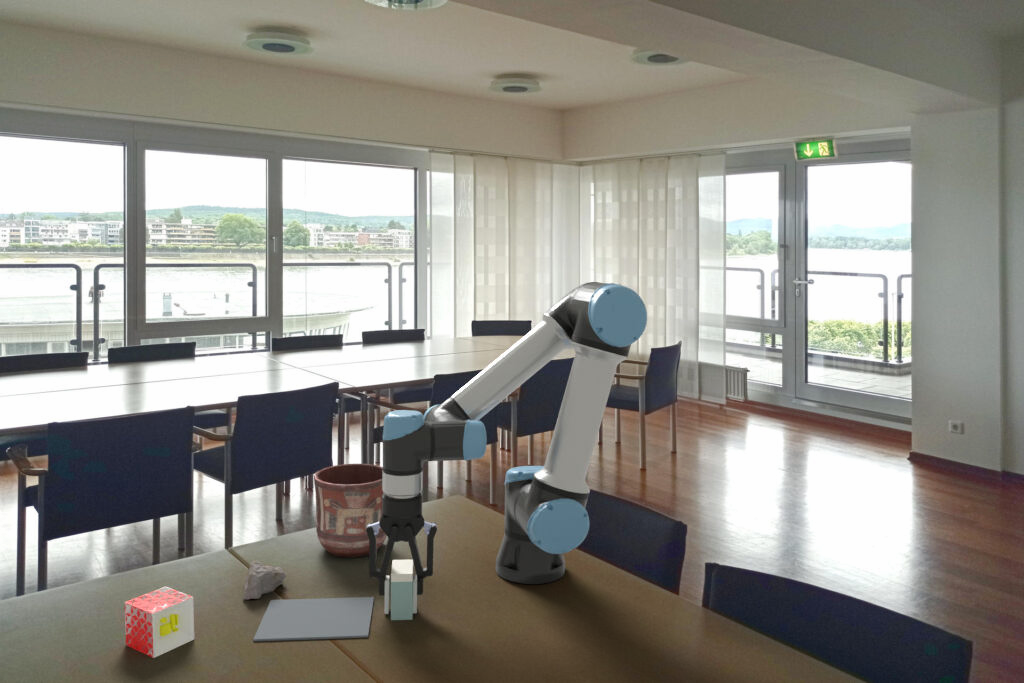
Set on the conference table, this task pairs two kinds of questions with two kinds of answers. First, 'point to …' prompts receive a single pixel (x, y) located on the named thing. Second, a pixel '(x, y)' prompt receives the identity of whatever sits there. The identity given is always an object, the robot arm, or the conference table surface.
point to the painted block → (402, 590)
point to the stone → (262, 580)
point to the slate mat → (316, 619)
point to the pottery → (348, 507)
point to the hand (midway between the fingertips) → (400, 610)
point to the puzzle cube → (159, 621)
